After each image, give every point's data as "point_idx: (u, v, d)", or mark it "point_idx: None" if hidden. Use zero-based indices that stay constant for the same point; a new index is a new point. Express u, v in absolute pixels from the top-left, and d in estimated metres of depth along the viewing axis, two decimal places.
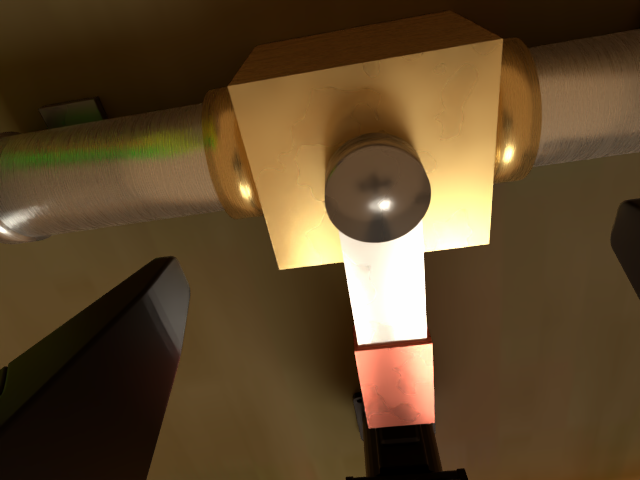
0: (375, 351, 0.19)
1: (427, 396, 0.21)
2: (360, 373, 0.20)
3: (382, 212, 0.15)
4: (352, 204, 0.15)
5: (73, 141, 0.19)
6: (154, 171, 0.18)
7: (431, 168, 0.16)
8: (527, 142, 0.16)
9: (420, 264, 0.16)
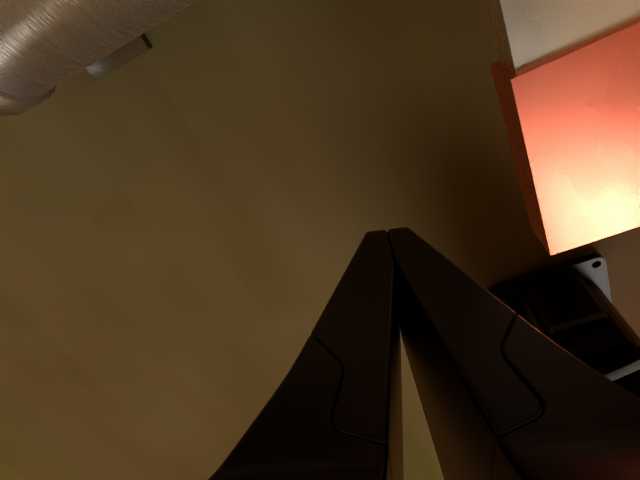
0: (550, 68, 0.10)
1: None
2: (526, 132, 0.11)
3: None
4: None
5: None
6: None
7: None
8: None
9: None
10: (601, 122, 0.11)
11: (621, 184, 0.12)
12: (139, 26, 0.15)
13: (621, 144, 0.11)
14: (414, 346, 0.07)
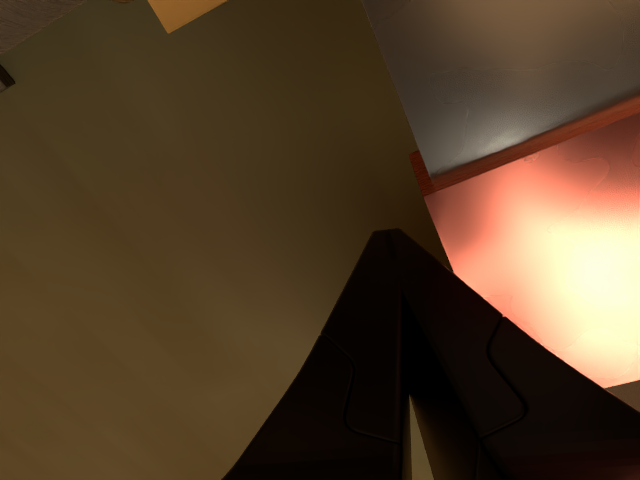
0: (486, 181, 0.06)
1: None
2: (457, 266, 0.07)
3: None
4: None
5: None
6: None
7: None
8: None
9: None
10: (574, 255, 0.07)
11: (609, 332, 0.08)
12: None
13: (607, 282, 0.07)
14: None
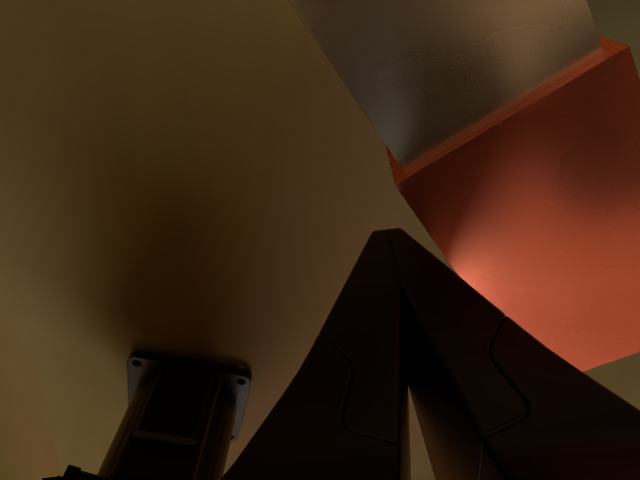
0: (455, 159, 0.06)
1: None
2: (445, 248, 0.07)
3: None
4: None
5: None
6: None
7: None
8: None
9: None
10: (564, 220, 0.07)
11: (622, 295, 0.08)
12: None
13: (607, 243, 0.07)
14: (406, 347, 0.07)
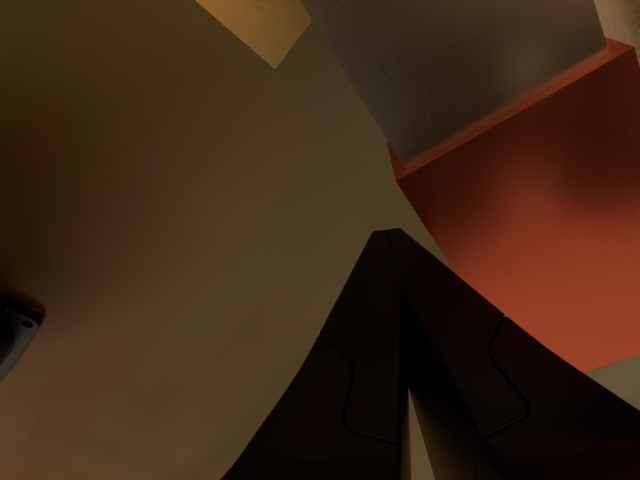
0: (457, 158, 0.06)
1: None
2: (445, 246, 0.07)
3: None
4: None
5: None
6: None
7: None
8: None
9: None
10: (564, 221, 0.07)
11: (619, 297, 0.08)
12: None
13: (606, 246, 0.07)
14: (405, 347, 0.07)
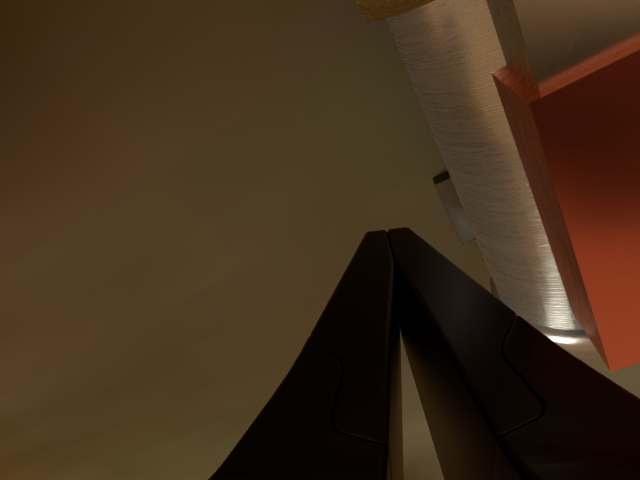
0: (609, 77, 0.05)
1: None
2: (563, 192, 0.06)
3: None
4: None
5: None
6: None
7: None
8: None
9: None
10: None
11: None
12: None
13: None
14: (414, 346, 0.07)
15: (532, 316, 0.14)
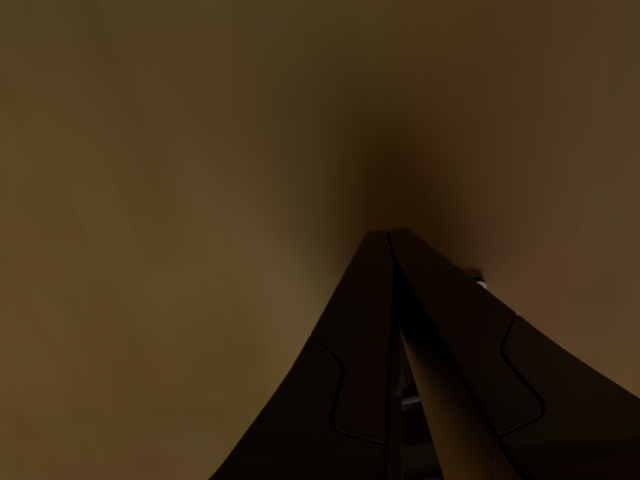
0: None
1: None
2: None
3: None
4: None
5: None
6: None
7: None
8: None
9: None
10: None
11: None
12: None
13: None
14: (414, 346, 0.07)
15: None
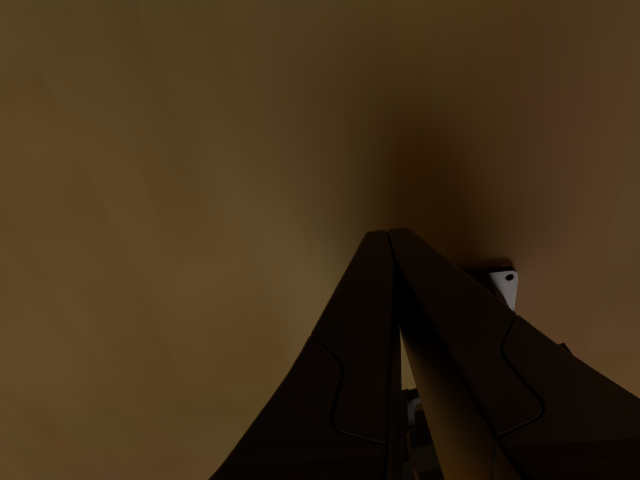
0: None
1: None
2: None
3: None
4: None
5: None
6: None
7: None
8: None
9: None
10: None
11: None
12: None
13: None
14: (414, 346, 0.07)
15: None
